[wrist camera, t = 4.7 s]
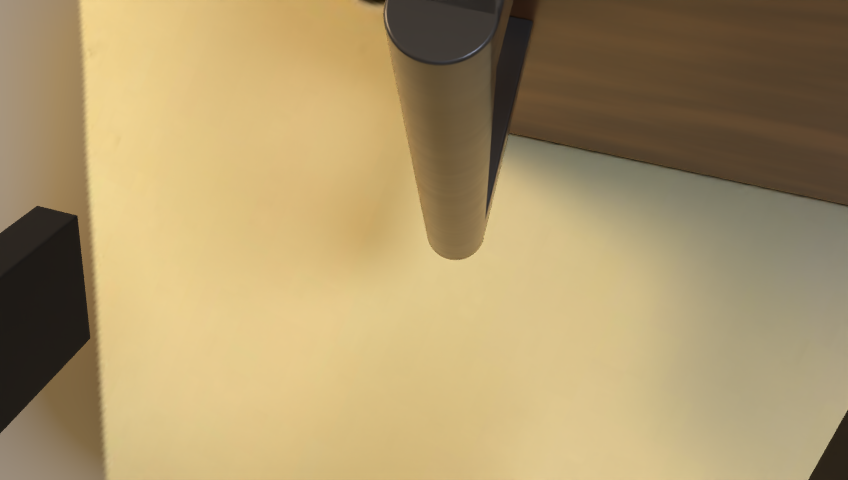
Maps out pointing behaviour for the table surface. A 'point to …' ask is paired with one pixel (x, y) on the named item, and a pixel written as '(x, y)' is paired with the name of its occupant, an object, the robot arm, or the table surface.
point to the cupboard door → (619, 93)
